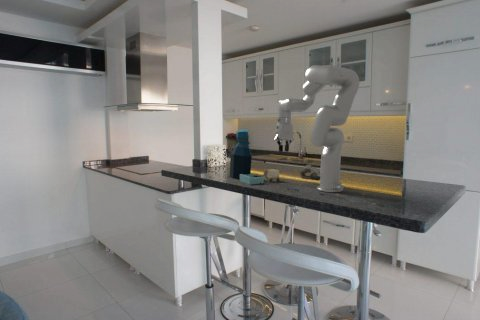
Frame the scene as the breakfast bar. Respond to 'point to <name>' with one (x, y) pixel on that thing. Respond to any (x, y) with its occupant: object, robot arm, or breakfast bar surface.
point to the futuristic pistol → (314, 173)
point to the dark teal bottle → (241, 156)
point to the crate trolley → (271, 175)
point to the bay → (251, 179)
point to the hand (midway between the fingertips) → (283, 151)
